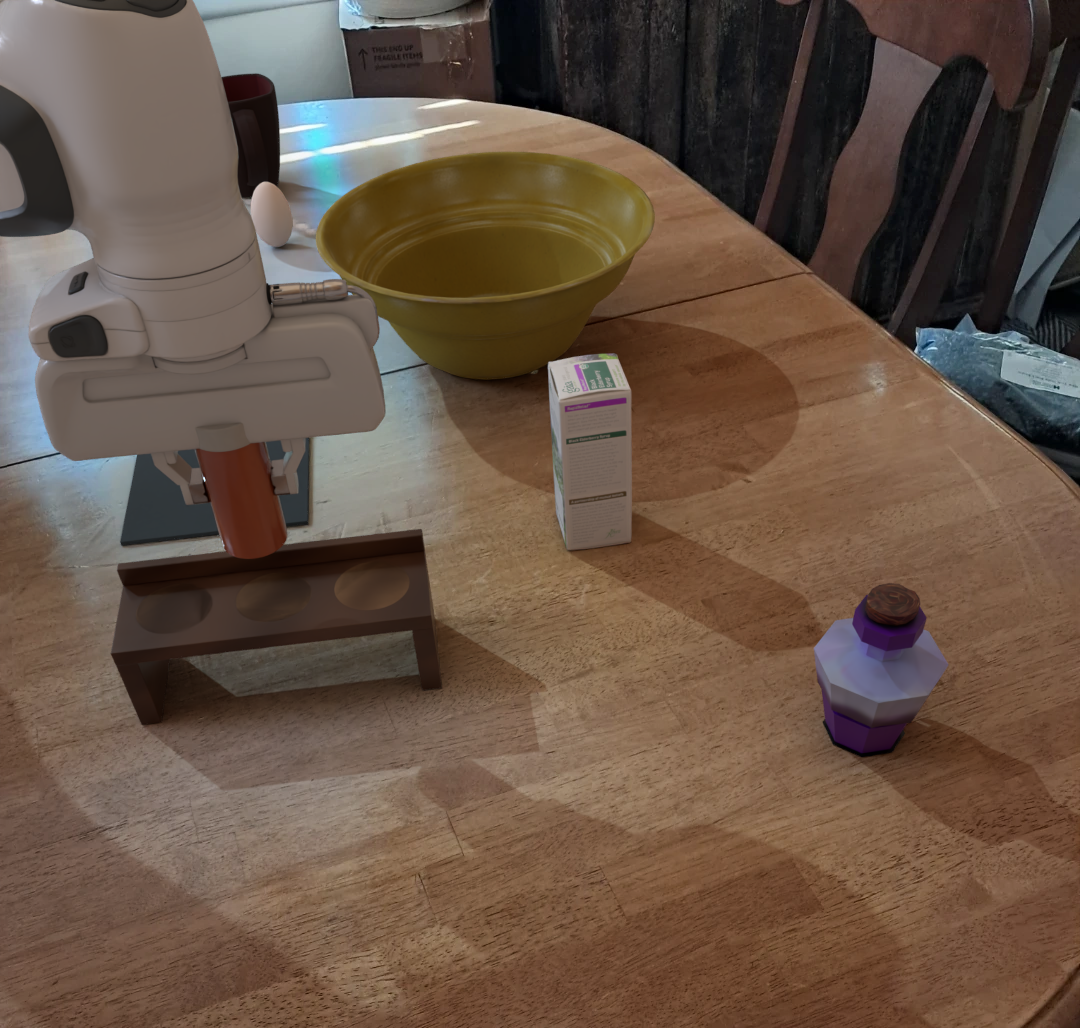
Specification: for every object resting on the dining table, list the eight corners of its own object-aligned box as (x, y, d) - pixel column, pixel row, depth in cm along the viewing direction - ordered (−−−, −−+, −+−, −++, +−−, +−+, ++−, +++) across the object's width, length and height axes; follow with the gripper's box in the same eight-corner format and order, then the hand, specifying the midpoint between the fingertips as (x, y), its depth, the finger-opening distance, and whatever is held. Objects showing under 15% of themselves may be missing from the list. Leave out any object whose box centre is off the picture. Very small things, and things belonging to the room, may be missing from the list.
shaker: (219, 563, 76) (179, 433, 69) (223, 521, 79) (185, 393, 72) (288, 556, 77) (256, 425, 69) (289, 514, 80) (259, 385, 72)
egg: (271, 235, 140) (257, 172, 134) (304, 239, 138) (292, 176, 133) (251, 252, 137) (236, 188, 131) (285, 256, 135) (271, 193, 130)
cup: (284, 167, 154) (265, 69, 145) (307, 207, 145) (287, 105, 136) (210, 181, 152) (186, 82, 143) (228, 222, 143) (204, 119, 134)
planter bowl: (398, 467, 105) (377, 330, 95) (301, 315, 125) (275, 189, 115) (708, 380, 113) (718, 245, 103) (569, 250, 133) (566, 128, 124)
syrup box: (633, 543, 96) (636, 387, 85) (563, 553, 95) (558, 397, 85) (619, 503, 100) (620, 349, 89) (551, 512, 99) (545, 358, 89)
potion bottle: (927, 692, 83) (965, 561, 74) (927, 782, 77) (968, 652, 68) (805, 677, 84) (828, 546, 76) (796, 764, 79) (819, 634, 70)
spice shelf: (141, 725, 84) (103, 637, 77) (152, 650, 89) (117, 562, 83) (442, 688, 85) (428, 598, 79) (434, 617, 90) (421, 528, 84)
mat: (121, 545, 98) (119, 542, 98) (138, 454, 108) (137, 450, 108) (308, 524, 99) (307, 520, 99) (309, 435, 109) (308, 431, 109)
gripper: (370, 251, 68) (399, 451, 78) (18, 283, 67) (93, 482, 77) (373, 302, 64) (403, 506, 74) (-3, 337, 63) (79, 540, 73)
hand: (242, 494), depth 75 cm, fingers closed on shaker, 4 cm apart
